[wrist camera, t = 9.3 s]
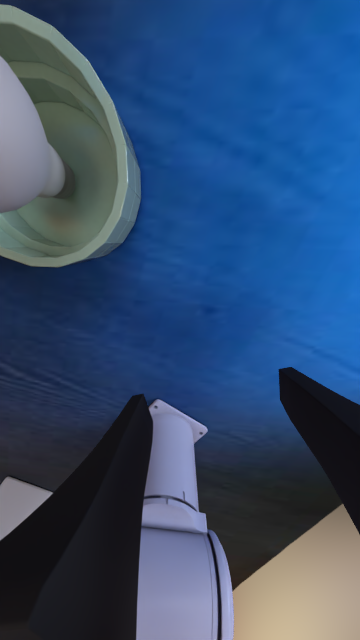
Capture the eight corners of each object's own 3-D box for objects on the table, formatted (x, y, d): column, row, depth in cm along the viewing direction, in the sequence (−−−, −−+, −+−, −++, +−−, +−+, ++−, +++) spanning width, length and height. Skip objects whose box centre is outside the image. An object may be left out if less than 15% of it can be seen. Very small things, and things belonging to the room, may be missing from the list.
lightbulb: (14, 200, 16) (-299, 122, 5) (33, 110, 14) (-403, -284, 3) (89, 240, 17) (-51, 238, 6) (116, 162, 15) (-24, -18, 5)
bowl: (96, 286, 19) (70, 300, 14) (-31, 198, 16) (-116, 180, 11) (171, 169, 15) (168, 138, 11) (27, 34, 13) (-60, -85, 8)
